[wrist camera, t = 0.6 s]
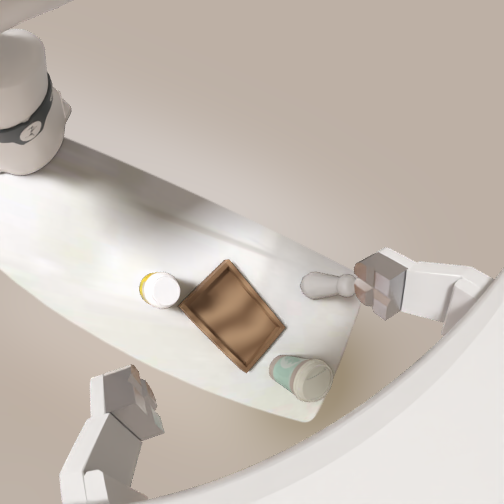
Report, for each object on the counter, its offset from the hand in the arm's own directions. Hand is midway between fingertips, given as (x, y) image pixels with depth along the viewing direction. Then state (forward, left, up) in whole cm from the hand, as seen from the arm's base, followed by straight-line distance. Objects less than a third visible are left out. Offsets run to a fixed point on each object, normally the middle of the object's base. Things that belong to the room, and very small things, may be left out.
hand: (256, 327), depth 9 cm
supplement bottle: (+3, +3, -41) cm, 41 cm away
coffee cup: (+33, +10, -41) cm, 53 cm away
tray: (+17, +10, -40) cm, 45 cm away
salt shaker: (+25, +27, -41) cm, 55 cm away
